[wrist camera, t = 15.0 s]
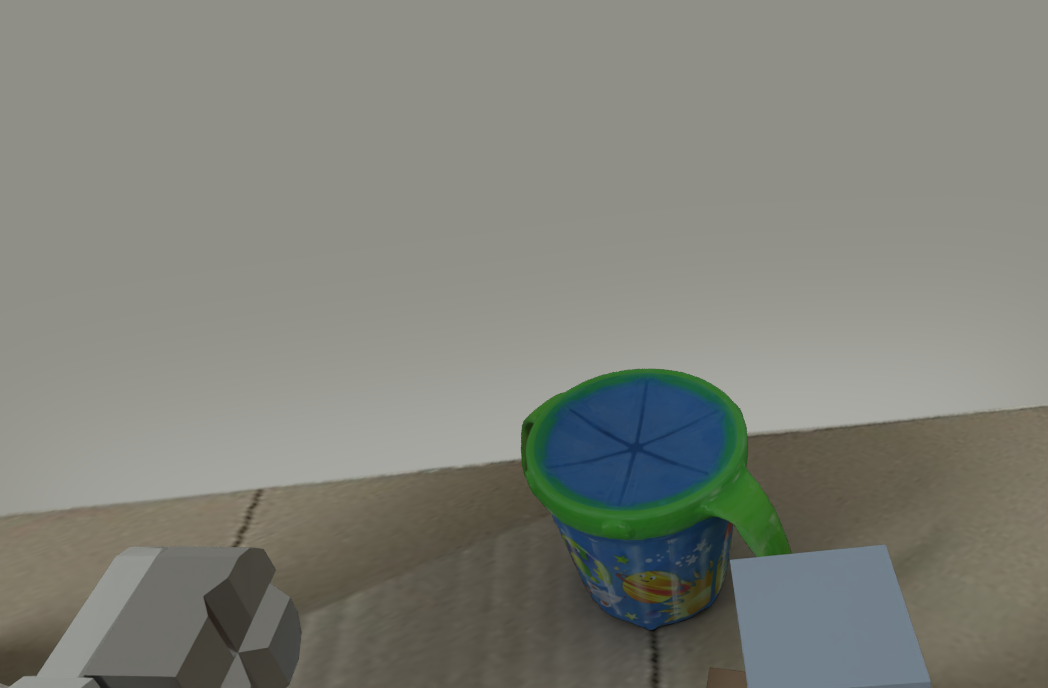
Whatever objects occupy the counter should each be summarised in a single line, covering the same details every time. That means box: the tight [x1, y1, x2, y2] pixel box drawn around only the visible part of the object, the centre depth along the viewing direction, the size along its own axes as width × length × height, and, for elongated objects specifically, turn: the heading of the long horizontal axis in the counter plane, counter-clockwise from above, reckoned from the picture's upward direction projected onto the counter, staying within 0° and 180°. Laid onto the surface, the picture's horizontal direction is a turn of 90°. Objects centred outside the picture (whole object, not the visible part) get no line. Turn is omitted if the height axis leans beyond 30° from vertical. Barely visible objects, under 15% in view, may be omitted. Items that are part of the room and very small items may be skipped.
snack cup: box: [521, 369, 792, 630], centre depth 46 cm, size 16×10×10 cm
